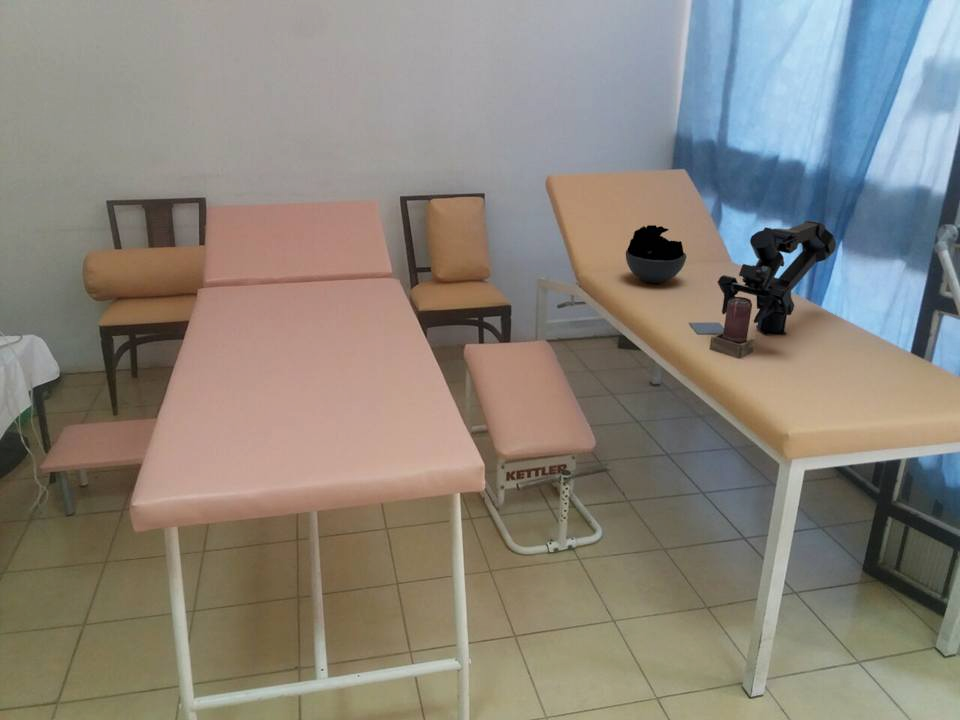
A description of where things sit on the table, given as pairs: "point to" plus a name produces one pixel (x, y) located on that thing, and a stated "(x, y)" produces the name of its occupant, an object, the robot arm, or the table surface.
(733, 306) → the can
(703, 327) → the mat
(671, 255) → the coal bowl
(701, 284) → the table surface
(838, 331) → the table surface
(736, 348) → the bracket
